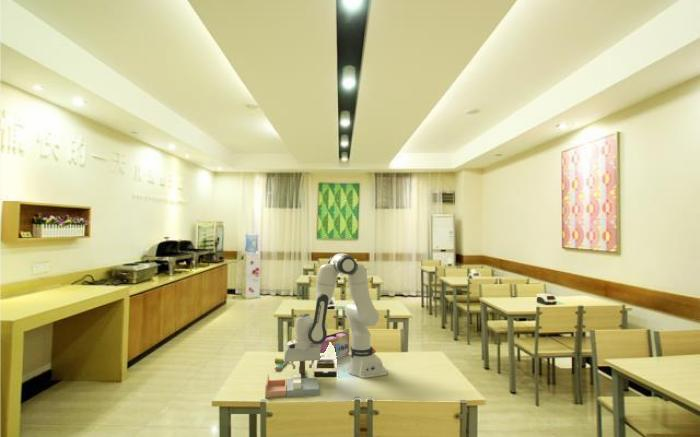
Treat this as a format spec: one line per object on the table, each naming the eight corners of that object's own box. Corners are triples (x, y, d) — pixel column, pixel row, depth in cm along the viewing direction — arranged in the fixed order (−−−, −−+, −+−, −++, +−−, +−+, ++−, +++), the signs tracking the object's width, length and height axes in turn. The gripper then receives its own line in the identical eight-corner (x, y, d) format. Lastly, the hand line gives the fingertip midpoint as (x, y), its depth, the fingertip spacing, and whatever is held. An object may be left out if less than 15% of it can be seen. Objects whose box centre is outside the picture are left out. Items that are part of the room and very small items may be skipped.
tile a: (300, 379, 181) (300, 373, 182) (300, 382, 178) (300, 376, 178) (293, 379, 181) (293, 373, 181) (293, 383, 177) (293, 377, 177)
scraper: (304, 370, 201) (304, 355, 201) (305, 384, 183) (305, 368, 184) (298, 370, 200) (299, 356, 201) (299, 384, 183) (300, 368, 183)
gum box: (321, 364, 210) (321, 341, 211) (313, 360, 216) (313, 338, 217) (349, 354, 227) (349, 334, 228) (341, 351, 233) (341, 331, 233)
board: (317, 383, 184) (317, 377, 184) (319, 394, 171) (319, 388, 171) (287, 384, 181) (287, 379, 181) (286, 396, 168) (286, 390, 169)
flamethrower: (267, 370, 199) (283, 372, 197) (267, 366, 199) (284, 368, 197) (283, 354, 227) (297, 355, 226) (283, 350, 228) (298, 351, 226)
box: (286, 384, 181) (286, 373, 181) (286, 396, 168) (286, 384, 169) (267, 385, 180) (267, 374, 180) (265, 398, 167) (265, 385, 167)
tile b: (300, 385, 175) (301, 379, 175) (301, 388, 171) (301, 382, 171) (292, 385, 174) (293, 379, 174) (292, 389, 170) (293, 383, 170)
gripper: (320, 340, 197) (320, 365, 197) (284, 342, 194) (284, 366, 194) (321, 344, 191) (321, 369, 191) (284, 345, 188) (283, 371, 187)
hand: (302, 368), depth 192 cm, fingers open, 8 cm apart
